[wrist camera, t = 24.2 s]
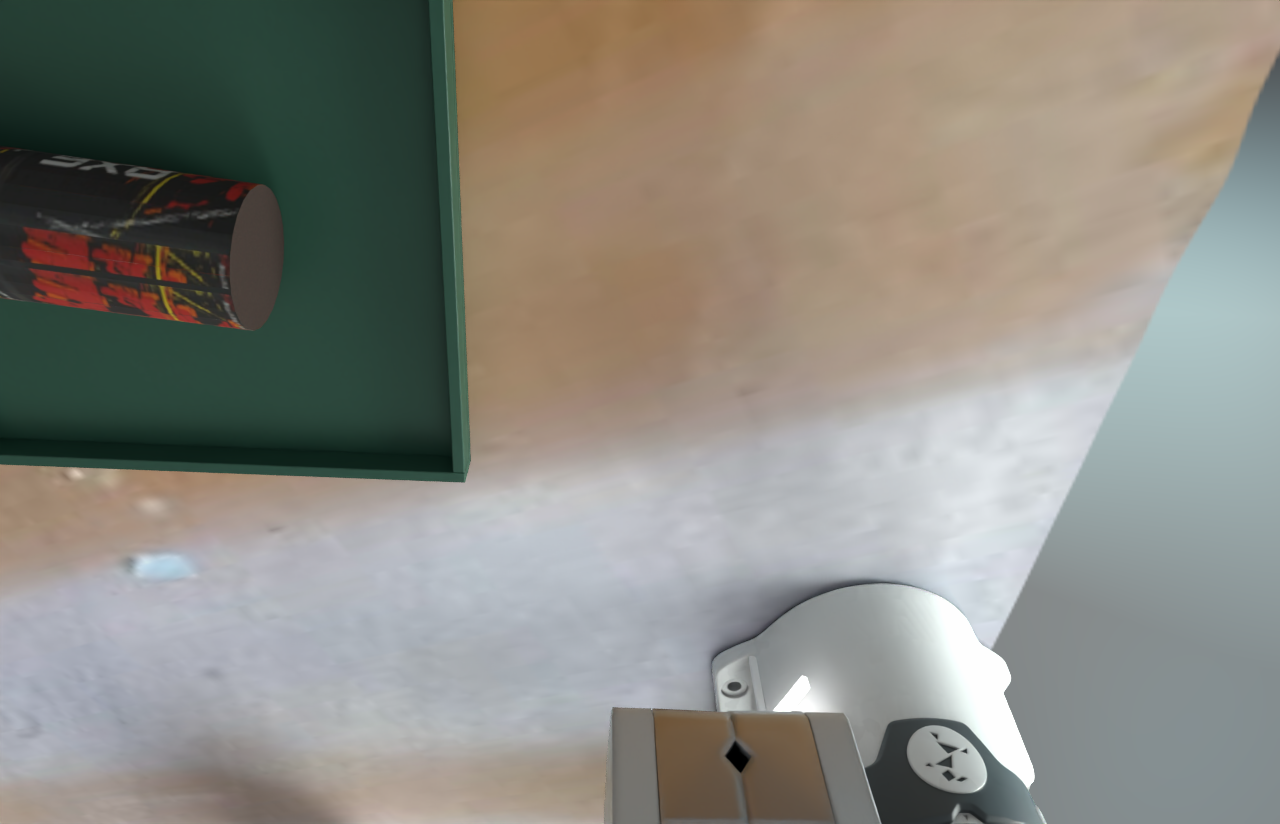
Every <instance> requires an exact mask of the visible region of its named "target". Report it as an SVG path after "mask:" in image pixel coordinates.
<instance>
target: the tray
mask: <svg viewBox="0 0 1280 824" xmlns="http://www.w3.org/2000/svg"><path fill="white" fill-rule="evenodd" d="M0 146H6V147H13V148H20V149H27V150H33V151H40V152H47V153H54V154H60V155H67V156H74V157H81V158H87V159H94V160H101V161H108V162H114V163H121V164H128V165H135V166H141V167H148V168H155V169H162V170H168V171H175V172H182V173H188V174H195V175H202V176H209V177H215V178H222V179H229V180H236V181H242V182H249V183H256V184H263V185H266V186H267V187H268V188H270V189H271V190H272V192H273V194H274V195H275V197H276V199H277V202H278V205H279V208H280V211H281V217H282V223H283V234H284V261H283V269H282V277H281V282H280V287H279V291H278V295H277V298H276V301H275V304H274V307H273V310H272V312H271V314H270V315H269V317H268V319H267V321H266V322H265V323H264V324H263V325H262V327H261V328H259V329H256V330H254V331H252V330H244V329H236V328H228V327H221V326H213V325H205V324H197V323H190V322H182V321H174V320H166V319H159V318H151V317H143V316H135V315H128V314H120V313H112V312H104V311H97V310H89V309H81V308H73V307H66V306H58V305H50V304H42V303H35V302H27V301H19V300H11V299H4V298H0V464H3V465H29V466H55V467H80V468H106V469H132V470H158V471H184V472H209V473H235V474H261V475H287V476H313V477H338V478H364V479H390V480H416V481H442V482H465V480H466V476H467V473H468V469H469V465H470V461H471V456H470V431H469V405H468V380H467V355H466V329H465V304H464V279H463V253H462V228H461V203H460V177H459V152H458V127H457V101H456V76H455V51H454V25H453V0H0Z"/></svg>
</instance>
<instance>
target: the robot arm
mask: <svg viewBox="0 0 1280 824" xmlns="http://www.w3.org/2000/svg"><path fill="white" fill-rule="evenodd" d="M712 674H713V683H714V692H715V701H716V710H717V712H715V711H694V710H673V709H652V710H651V709H648V708H618V707H613V708H612V710H611V717H610V729H609V740H608V752H607V764H606V783H605V802H604V824H1046V822H1045V819H1044V817H1043V815H1042V813H1041V812H1040V810H1039V808H1038V807H1037V806H1036V805H1035V803H1034V801H1033V799H1032V797H1031V795H1030V793H1029V791H1028V790H1029V787H1030V784H1031V783H1032V782H1033V781H1034V770H1033V767H1032V764H1031V762H1030V759H1029V756H1028V754H1027V751H1026V749H1025V746H1024V744H1023V741H1022V739H1021V736H1020V734H1019V731H1018V729H1017V726H1016V724H1015V721H1014V719H1013V716H1012V714H1011V711H1010V709H1009V707H1008V704H1007V701H1006V699H1005V697H1004V694H1003V692H1004V691H1005V689H1006V687H1008V685H1009V683H1010V681H1011V676H1010V673H1009V670H1008V668H1007V665H1006V663H1005V661H1004V660H1003V659H1002V658H1001V657H1000V656H998V655H997V654H996V653H994V652H992V651H991V650H989V649H988V648H986V647H984V646H983V645H981V644H980V642H979V641H978V639H977V638H976V636H975V634H974V632H973V630H972V628H971V626H970V624H969V622H968V620H967V619H966V618H965V616H964V615H963V614H962V613H961V612H960V611H959V610H958V609H957V608H956V607H955V606H954V605H953V604H951V603H950V602H948V601H947V600H945V599H944V598H942V597H940V596H938V595H936V594H934V593H931V592H929V591H926V590H923V589H920V588H916V587H912V586H906V585H899V584H887V583H876V584H863V585H855V586H849V587H845V588H840V589H837V590H833V591H830V592H827V593H824V594H821V595H818V596H816V597H814V598H811V599H809V600H807V601H805V602H803V603H801V604H799V605H798V606H796V607H794V608H793V609H791V610H789V611H788V612H787V613H785V614H784V615H782V616H781V617H780V618H779V619H777V620H776V621H775V622H774V623H773V624H772V625H770V626H769V627H768V628H767V629H766V630H765V631H764V632H762V633H761V634H760V635H758V636H757V637H755V638H754V639H751V640H749V641H746V642H744V643H741V644H739V645H736V646H734V647H732V648H729V649H727V650H725V651H723V652H722V653H720V654H719V655H717V656H716V657H715V659H714V660H713V662H712Z"/></svg>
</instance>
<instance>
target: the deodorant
mask: <svg viewBox="0 0 1280 824" xmlns="http://www.w3.org/2000/svg"><path fill="white" fill-rule="evenodd" d="M283 261H284V234H283V223H282V217H281V211H280V208H279V205H278V202H277V199H276V197H275V195H274V194H273V192H272V190H271V189H270V188H268V187H267V186H266V185H263V184H256V183H249V182H242V181H236V180H229V179H222V178H215V177H209V176H202V175H195V174H188V173H182V172H175V171H168V170H162V169H155V168H148V167H141V166H135V165H128V164H121V163H114V162H108V161H101V160H94V159H87V158H81V157H74V156H67V155H60V154H54V153H47V152H40V151H33V150H27V149H20V148H13V147H6V146H0V298H4V299H11V300H19V301H27V302H35V303H42V304H50V305H58V306H66V307H73V308H81V309H89V310H97V311H104V312H112V313H120V314H128V315H135V316H143V317H151V318H159V319H166V320H174V321H182V322H190V323H197V324H205V325H213V326H221V327H228V328H236V329H244V330H252V331H254V330H256V329H259V328H261V327H262V325H263V324H264V323H265V322H266V321H267V319H268V317H269V315H270V314H271V312H272V310H273V307H274V304H275V301H276V298H277V295H278V291H279V287H280V282H281V277H282V269H283Z"/></svg>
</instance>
